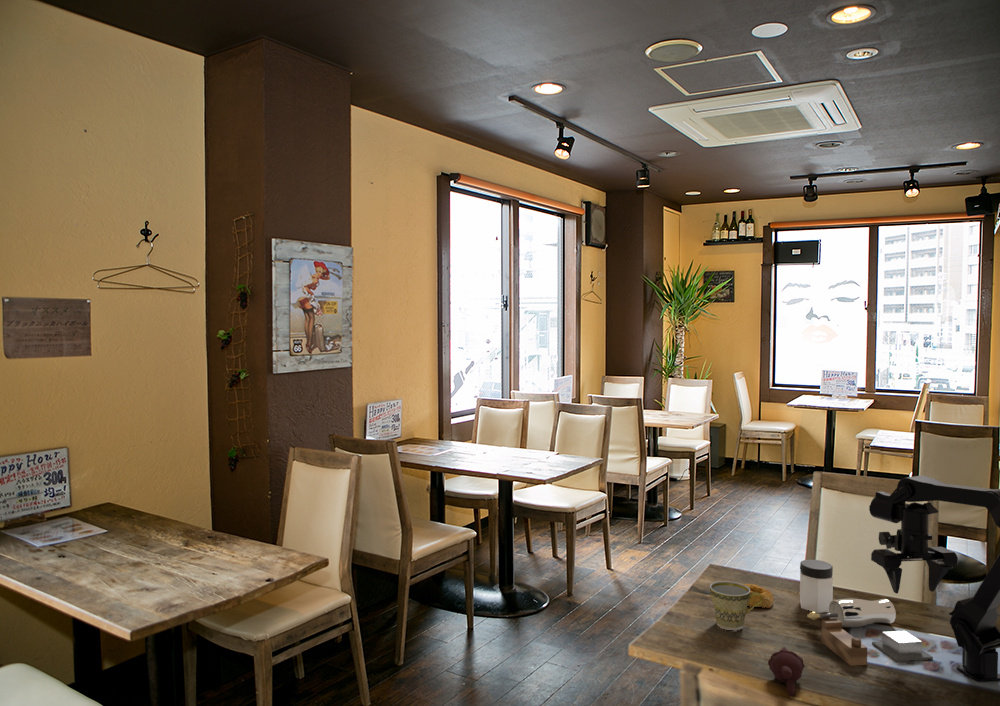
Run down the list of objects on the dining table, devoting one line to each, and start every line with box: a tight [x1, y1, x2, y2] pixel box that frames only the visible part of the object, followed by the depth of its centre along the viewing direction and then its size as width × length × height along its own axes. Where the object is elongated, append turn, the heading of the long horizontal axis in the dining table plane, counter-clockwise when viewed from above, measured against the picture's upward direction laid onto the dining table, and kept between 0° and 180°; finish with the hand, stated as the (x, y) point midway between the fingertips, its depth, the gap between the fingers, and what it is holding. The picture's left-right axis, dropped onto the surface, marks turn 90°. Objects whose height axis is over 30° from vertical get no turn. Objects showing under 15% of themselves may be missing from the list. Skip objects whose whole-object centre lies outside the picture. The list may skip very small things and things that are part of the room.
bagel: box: [742, 583, 775, 609], centre depth 198 cm, size 10×11×5 cm
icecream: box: [767, 646, 805, 697], centre depth 155 cm, size 7×7×15 cm
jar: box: [799, 559, 834, 614], centre depth 194 cm, size 9×8×12 cm
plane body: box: [821, 618, 868, 667], centre depth 167 cm, size 12×4×6 cm, turn 6°
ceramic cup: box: [709, 580, 763, 631], centre depth 182 cm, size 13×10×10 cm
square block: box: [881, 630, 923, 656], centre depth 168 cm, size 6×6×3 cm
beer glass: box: [827, 598, 897, 628], centre depth 183 cm, size 7×7×15 cm
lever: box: [806, 611, 838, 621], centre depth 177 cm, size 9×4×2 cm, turn 5°
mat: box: [871, 640, 934, 663], centre depth 168 cm, size 9×9×1 cm
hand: (913, 591), depth 171 cm, fingers open, 9 cm apart
